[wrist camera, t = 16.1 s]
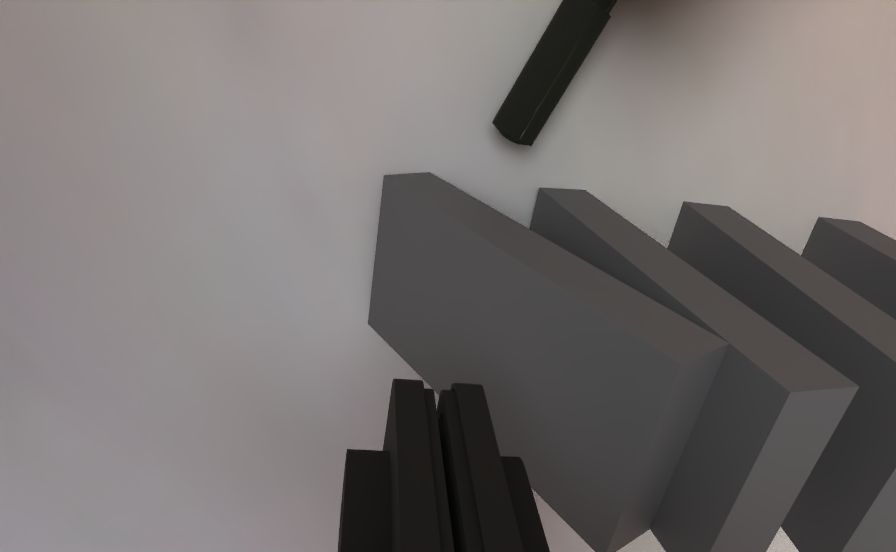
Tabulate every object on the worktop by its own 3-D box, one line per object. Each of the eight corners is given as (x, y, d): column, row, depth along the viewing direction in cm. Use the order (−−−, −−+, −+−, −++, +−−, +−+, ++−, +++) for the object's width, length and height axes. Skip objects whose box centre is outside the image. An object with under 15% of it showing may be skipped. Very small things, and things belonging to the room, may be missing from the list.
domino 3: (639, 331, 22) (821, 582, 13) (683, 201, 19) (941, 397, 11) (679, 334, 22) (886, 582, 13) (728, 206, 20) (1016, 401, 11)
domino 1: (367, 323, 19) (603, 560, 12) (384, 175, 17) (680, 363, 10) (409, 314, 20) (649, 529, 13) (429, 172, 18) (728, 343, 11)
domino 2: (508, 325, 21) (692, 588, 12) (539, 187, 18) (790, 392, 10) (549, 324, 21) (753, 575, 13) (585, 190, 19) (859, 386, 10)
